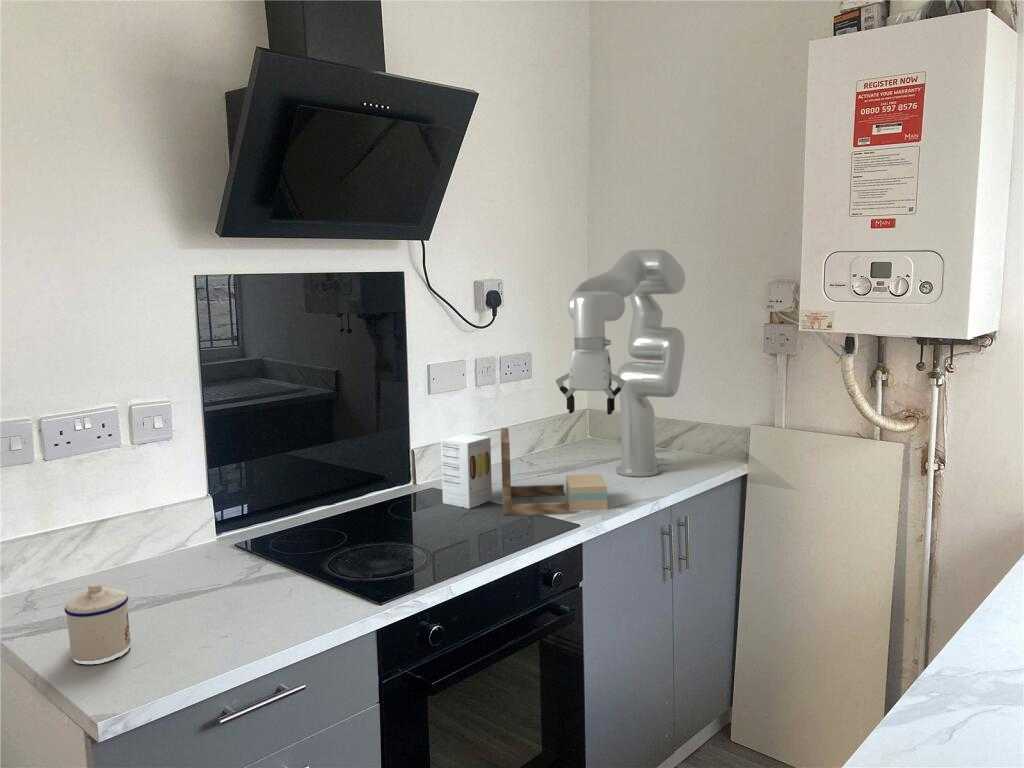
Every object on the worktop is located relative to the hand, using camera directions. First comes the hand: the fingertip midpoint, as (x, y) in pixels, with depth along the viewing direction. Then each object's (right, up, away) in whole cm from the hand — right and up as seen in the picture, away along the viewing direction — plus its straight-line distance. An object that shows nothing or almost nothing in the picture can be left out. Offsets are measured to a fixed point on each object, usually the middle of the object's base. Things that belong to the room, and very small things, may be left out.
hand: (590, 413), depth 206 cm
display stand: (-14, -23, +3) cm, 27 cm away
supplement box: (-31, -23, +7) cm, 39 cm away
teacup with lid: (-86, -36, -71) cm, 118 cm away
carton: (-1, -23, +3) cm, 23 cm away
